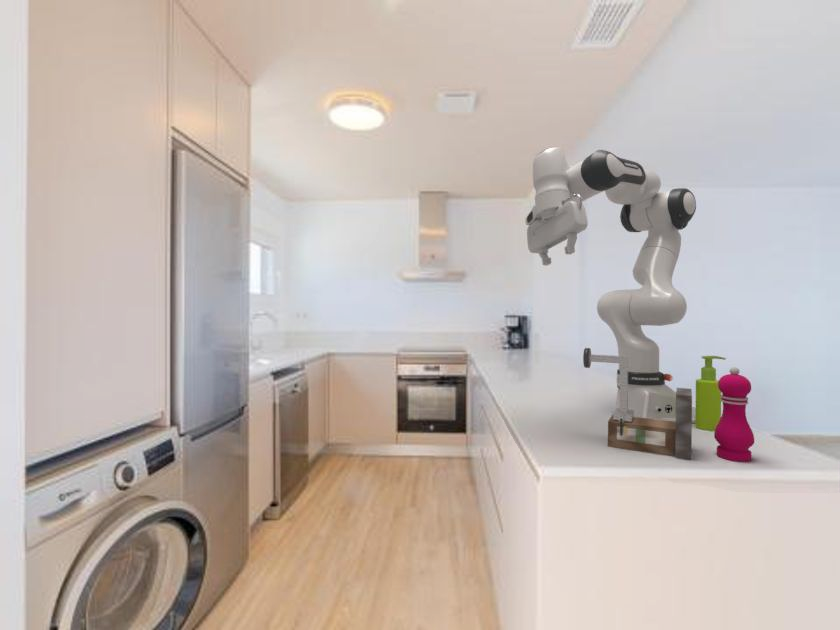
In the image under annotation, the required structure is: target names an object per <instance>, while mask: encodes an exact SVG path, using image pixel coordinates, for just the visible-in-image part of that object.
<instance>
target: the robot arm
mask: <svg viewBox="0 0 840 630" xmlns="http://www.w3.org/2000/svg"><path fill="white" fill-rule="evenodd" d="M532 182H533V187H534V190H535V195H534V205H533V206H532V208H531V210H530V212H529V213H528V214H527V216H526V218H525V225H526V226H527V229H526V240H527V247H528V250H529V252H530V254H538V255H539V257H540V258H541V262H542V265H543V266H549V265H551V264H552V257H549V255H548V253H549V249H551V248H554V247H555V246H557V245H559V244H561V243H562V242H565V241H566V246H564V254H565V255H572V254H574V253H575V252H576V249H575V246H576V242H577V240H578V234H580V233H582V232H583V231H585V230H586V229H587V227H588V224H589V223H588V216H587V213H586V208H585V206H584V204H583V202H584V201H586V200H588V199H590V198H592V197H595V196H596V195H598V194H600V193H603V192H604V193H605V196H606V197H607V199H608V200H609V201H610V202H612V203H614V204H616V205H622V207H621V210H620V216H619V217H620V223H621V226H622V227H623V228H624V229H625V231H627V232H628V233H641V232H645V231H648V232H647V233H648V234H647V237H646V239H645V241H644V242H643V245H642V246H641V248H640V250H639V253H638V256H637V258H636V260H635V264H634V265H633V269H632V276H633V279H634V280H635V281H636V282H637V283H638V284H639V285H641V288H637V289H617V290H612V291H609V292H605V293H603V294H601V296H600V297H599V299H598V302H597V305H596V311H597V315H598V317H599V318H600V319H601V321H603V322H604V323H605V324H606V325H607V326H608V327H609V329H611V332H612V333H613V336H614V337H615V339H616V345H617V351H618V355H617V356H628V410H634V417H639V418H648V419H656V420H665V421H674V422H676V390H675V391H674V389H672V388H671V387H670V386H668V385H667V384H666V381H667V382H672V380H673V379H674V377H673V375H671V374H670V373H663V372H661V371H660V347H659V345H658V344H657V343H656V342H655V341H654V340H653V339H651V338H649V337H647V336H646V335H645V333H644V332H643V329H642V326H651V327H652V326H654V327H655V326H656V327H657V326H659V327H661V326H668V325H673V324H678V323H680V322H681V321H682V319H684V317H685V315H686V313H687V309H688V307H687V301H686V299H685V297H684V295H683V293H681V292H680V291H679V290H678V289H676V288H675V287H674V286H673V282H672V280H673V275H674V272H675V269H676V265H677V262H678V259H679V255H680V253H681V246H682V235H681V233H680V232H679V231H680V230H683V229H685V228H686V227H687V226H688V224H689V223H690V222H691V220H692V218H693V217H694V215H695V213H696V211H697V210H696V209H697V201H696V196H695V194H693V192H692V191H691V190H690V189H688V188H685V187H682V188H681V187H679V188H672V189H671V190H665V191H660V189H661V187H662V186H661V185H662V183H661V178H660V176H659V174H658V173H656V172H655V171H653V170H651V169H649V168H646V167H643V166H642V164H640V163H639V162H637V161H633V160H630V159H626V158H622V157H619V156H617V155H615V154H614V153H613V152H611V151H609V150H604V149H598V150H596V151H593V152H592V153H591V154H590V155H589V156H586V157H585V159H582V160H581V161H579V162H577V163H576V164H574V165H571V164H570V163H569V162H568V161H567V159H566V155H565V152H564V149H563V148H561V147H559V146H558V147H557V146H554V147H548V148H546V149H544V150H542V151H541V152H539V153H537V154H536V155H535V156H534V158H533V163H532ZM616 370H617V372H616V387H617V392H616V393H617V394H616V399H615V405H614V408H613V411H612V414H613V413H614V411H615V410H616V408H619V409H620V363H618V369H616ZM695 418H696V416H694V415H692V424H695Z"/></svg>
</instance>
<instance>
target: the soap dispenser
mask: <svg viewBox="0 0 840 630" xmlns="http://www.w3.org/2000/svg"><path fill="white" fill-rule="evenodd" d="M701 359H704V366H703V367H701V368H700V369H701V371H700V375H701V376H700V378H699V379H698V378H697V379H696V380H695V417H696V418H695V423H694V424H695V428H697V429H699V430H703V431H709V432H715V429H716V426H717V424H718V423H719V421H720V419H721V417H722V402H721V395H722V392H721V391H720V390H719V388H718V382H719V380H717V369H716V368H715V367H713V360H715V359H716V360H723V361H724V360H726V359H727V358H725V357H723V356H719V355H702V356H701Z"/></svg>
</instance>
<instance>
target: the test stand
mask: <svg viewBox="0 0 840 630" xmlns="http://www.w3.org/2000/svg"><path fill="white" fill-rule="evenodd" d="M675 392H676V422H674V421H665V420H656V419H648V418H639V417H634V418H633V420H632V422H628V421H624V422H623V435H622V436H621V435H620V422H619V420H613V414H612V415H611V416H610V417H609V419H608V420H607V447H611V448H617V449H625V450H630V451H631V450H632V451H637V452H643V453H651V454H655V455H656V454H657V455H663V456H671V457H675V459H681V460H687V461H692V444H693V443H692V439H693V437H692V436H693V435H692V433H693V430H692V429H693V428H692V427H693V423H692V416H693V393H692V388H685V387H676V390H675ZM624 426H627V435H624Z"/></svg>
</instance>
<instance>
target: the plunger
mask: <svg viewBox="0 0 840 630" xmlns="http://www.w3.org/2000/svg"><path fill="white" fill-rule="evenodd" d="M582 355H583V358H582V360H583V363H582V364H583V366H584V368H586V369H587V368H588V369H591V364H592V362H593V363H607V364H608V363H609V364H619V363H620V409H619V408H616V410H615V411H614V410H613V411H614V413H613V412H612V415H613V420H619V422H620V435H621V436H622V435H623V422H624V421H628V422H632V420H633V418H634V410H628V356H618V355H609V354H608V355H607V354H606V355H605V354H592V350H591V348H590V347H584V350H583V354H582Z"/></svg>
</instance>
